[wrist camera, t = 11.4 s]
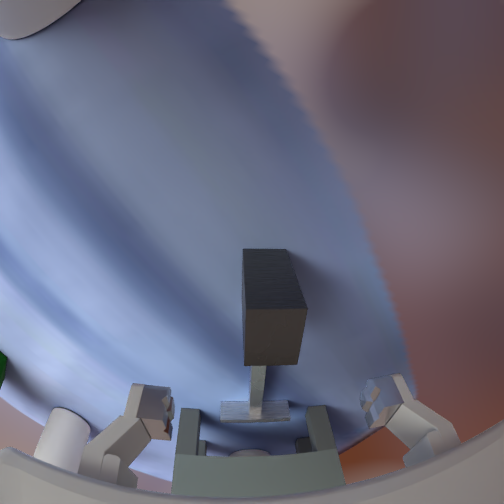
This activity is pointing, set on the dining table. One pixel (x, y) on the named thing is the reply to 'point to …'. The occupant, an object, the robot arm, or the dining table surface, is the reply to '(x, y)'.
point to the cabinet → (256, 463)
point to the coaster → (249, 453)
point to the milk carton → (2, 367)
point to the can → (63, 439)
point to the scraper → (267, 330)
